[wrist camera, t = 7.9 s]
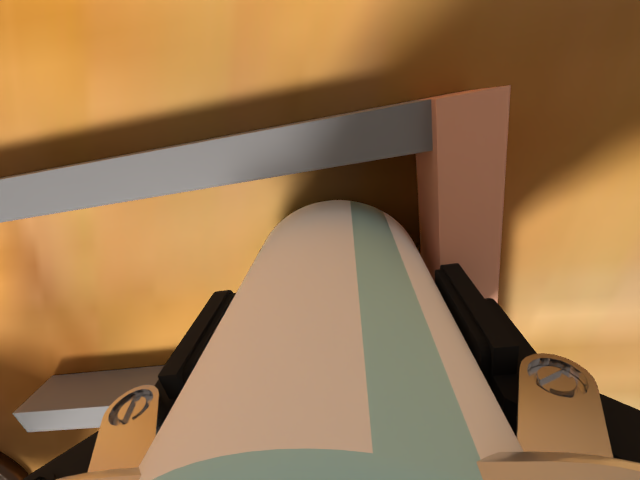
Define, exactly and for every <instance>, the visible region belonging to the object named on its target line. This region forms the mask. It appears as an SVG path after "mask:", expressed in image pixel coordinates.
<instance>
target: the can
mask: <svg viewBox="0 0 640 480" xmlns="http://www.w3.org/2000/svg"><path fill="white" fill-rule="evenodd" d="M498 452H524V451H523V449H522V447H521V446H520V444H519V442H518V440H517V438H516V436H515V434H514V432H513V430H512V428H511V427H510V425H509V423H508V421H507V419H506V417H505V415H504V413H503V411H502V409H501V408H500V406H499V404H498V402H497V400H496V398H495V396H494V394H493V392H492V390H491V388H490V387H489V385H488V383H487V381H486V379H485V377H484V375H483V373H482V371H481V369H480V368H479V366H478V364H477V362H476V360H475V358H474V356H473V354H472V352H471V350H470V349H469V347H468V345H467V343H466V341H465V339H464V337H463V335H462V333H461V331H460V330H459V328H458V326H457V324H456V322H455V320H454V318H453V316H452V314H451V312H450V310H449V309H448V307H447V305H446V303H445V301H444V299H443V297H442V295H441V293H440V291H439V290H438V288H437V286H436V284H435V282H434V280H433V278H432V276H431V274H430V272H429V271H428V269H427V267H426V265H425V263H424V261H423V259H422V257H421V255H420V253H419V251H418V250H417V248H416V246H415V244H414V242H413V240H412V238H411V237H410V235H409V234H408V233H407V231H406V230H405V229H404V228H403V227H402V226H401V225H400V224H399V223H398V222H397V221H396V220H395V219H394V218H392V217H391V216H390V215H388V214H386V213H385V212H383V211H381V210H379V209H377V208H375V207H373V206H370V205H367V204H364V203H360V202H355V201H347V200H330V201H322V202H318V203H314V204H311V205H307V206H305V207H303V208H300V209H298V210H296V211H295V212H293V213H291V214H290V215H288V216H287V217H285V218H284V219H283V220H282V221H281V222H280V223H279V224H278V225H277V226H276V227H275V228H274V229H273V230H272V232H271V233H270V234H269V236H268V238H267V239H266V241H265V243H264V245H263V246H262V248H261V250H260V252H259V253H258V255H257V257H256V259H255V261H254V262H253V264H252V266H251V268H250V269H249V271H248V273H247V275H246V277H245V278H244V280H243V282H242V284H241V285H240V287H239V289H238V291H237V293H236V294H235V296H234V298H233V300H232V301H231V303H230V305H229V307H228V309H227V310H226V312H225V314H224V316H223V318H222V319H221V321H220V323H219V325H218V326H217V328H216V330H215V332H214V334H213V335H212V337H211V339H210V341H209V342H208V344H207V346H206V348H205V350H204V351H203V353H202V355H201V357H200V358H199V360H198V362H197V364H196V366H195V367H194V369H193V371H192V373H191V375H190V376H189V378H188V380H187V382H186V383H185V385H184V387H183V389H182V391H181V392H180V394H179V396H178V398H177V399H176V401H175V403H174V405H173V407H172V408H171V410H170V412H169V414H168V415H167V417H166V419H165V421H164V423H163V424H162V426H161V428H160V430H159V432H158V433H157V435H156V437H155V439H154V440H153V442H152V444H151V446H150V448H149V449H148V451H147V453H146V455H145V456H144V458H143V460H142V462H141V464H140V465H139V469H140V473H141V477H140V479H139V480H483V478H482V476H481V473H480V470H479V468H478V465H477V461H479V460H481V459H483V458H485V457H487V456H489V455H492V454H496V453H498Z"/></svg>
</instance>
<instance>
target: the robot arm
mask: <svg viewBox="0 0 640 480" xmlns="http://www.w3.org/2000/svg"><path fill="white" fill-rule="evenodd" d="M435 284H436V286H437V288H438V290H439V291H440V293H441V295H442V297H443V299H444V301H445V303H446V305H447V307H448V309H449V310H450V312H451V314H452V316H453V318H454V320H455V322H456V324H457V326H458V328H459V330H460V331H461V333H462V335H463V337H464V339H465V341H466V343H467V345H468V347H469V349H470V350H471V352H472V354H473V356H474V358H475V360H476V362H477V364H478V366H479V368H480V369H481V371H482V373H483V375H484V377H485V379H486V381H487V383H488V385H489V387H490V388H491V390H492V392H493V394H494V396H495V398H496V400H497V402H498V404H499V406H500V408H501V409H502V411H503V413H504V415H505V417H506V419H507V421H508V423H509V425H510V427H511V428H512V430H513V432H514V434H515V436H516V438H517V440H518V442H519V444H520V446H521V447H522V449H523V451H524V452H498V453H496V454H492V455H489V456H487V457H485V458H483V459H481V460H479V461H477V465H478V468H479V470H480V473H481V476H482V478H483V480H640V410H638V409H635V408H633V407H630V406H628V405H626V404H623V403H621V402H619V401H616V400H614V399H612V398H609V397H607V396H604V395H602V394H600V393H599V390H598V386H597V384H596V381H595V379H594V378H593V377H592V375H591V374H590V373H589V372H588V371H587V370H586V369H584V368H583V367H581V366H580V365H579V364H577V363H575V362H573V361H571V360H569V359H567V358H564V357H561V356H557V355H553V354H545V353H541V354H537V353H536V352H535V351H534V349H533V348H532V347H531V345H530V344H529V343H528V342H527V340H526V339H525V338H524V337H523V335H522V334H521V333H520V331H519V330H518V329H517V328H516V326H515V325H514V324H513V322H512V321H511V320H510V319H509V317H508V316H507V315H506V314H505V312H504V311H503V310H502V308H501V307H500V306H499V305H498V303H497V302H496V301H495V300H494V299H493V298H484V297H483V296H482V294H481V293H480V292H479V290H478V289H477V288H476V286H475V285H474V284H473V282H472V281H471V279H470V278H469V277H468V275H467V274H466V273H465V271H464V270H463V269H462V267H461V266H460V265H459V264H458V263H453V264H445V265H441V266H440V269H438V270H435ZM235 294H236V293H233V292H232V291H231V290H226V291H217V292H214V293H213V295H212V296H211V298H210V299H209V301H208V302H207V304H206V305H205V307H204V308H203V310H202V311H201V313H200V314H199V316H198V317H197V318H196V320H195V321H194V323H193V324H192V326H191V327H190V329H189V330H188V332H187V333H186V335H185V336H184V338H183V339H182V340H181V342H180V343H179V345H178V346H177V348H176V349H175V351H174V352H173V354H172V355H171V357H170V358H169V360H168V361H167V363H166V364H165V365H164V367H163V368H162V370H161V371H160V373H159V374H158V378H159V379H158V381H157V382H156V384H155V385H154V386H153V385H142V386H139V387H135V388H133V389H131V390H129V391H127V392H126V393H124V394H123V395H121V396H120V397H118V398H117V399H116V400H115V401H114V402H113V403H112V404H111V405H110V406H109V408H108V409H107V410H106V412H105V414H104V416H103V418H102V421H101V425H100V428H99V431H98V432H96V433H94V434H93V435H91V436H90V437H88V438H87V439H85V440H83V441H82V442H80V443H79V444H77V445H76V446H74V447H72V448H71V449H69V450H68V451H66V452H64V453H63V454H61V455H60V456H58V457H57V458H55V459H53V460H52V461H50V462H49V463H47V464H46V465H44V466H42V467H41V468H39V469H38V470H36V471H35V472H33V473H31V474H30V475H28V476H27V477H26V478H24V479H23V480H139V479H140V477H141V473H140V469H139V465H140V464H141V462H142V460H143V458H144V456H145V455H146V453H147V451H148V449H149V448H150V446H151V444H152V442H153V440H154V439H155V437H156V435H157V433H158V432H159V430H160V428H161V426H162V424H163V423H164V421H165V419H166V417H167V415H168V414H169V412H170V410H171V408H172V407H173V405H174V403H175V401H176V399H177V398H178V396H179V394H180V392H181V391H182V389H183V387H184V385H185V383H186V382H187V380H188V378H189V376H190V375H191V373H192V371H193V369H194V367H195V366H196V364H197V362H198V360H199V358H200V357H201V355H202V353H203V351H204V350H205V348H206V346H207V344H208V342H209V341H210V339H211V337H212V335H213V334H214V332H215V330H216V328H217V326H218V325H219V323H220V321H221V319H222V318H223V316H224V314H225V312H226V310H227V309H228V307H229V305H230V303H231V301H232V300H233V298H234V296H235Z"/></svg>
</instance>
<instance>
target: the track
mask: <svg viewBox="0 0 640 480" xmlns="http://www.w3.org/2000/svg"><path fill="white" fill-rule="evenodd" d="M510 91H511V85H507V86H499V87H491V88H482V89H474V90H467V91H461V92H456V93H451V94H445V95H440V96H435V97H429V98H424V99H419V100H413V101H408V102H403V103H397V104H392V105H387V106H381V107H376V108H371V109H365V110H360V111H355V112H349V113H344V114H339V115H333V116H328V117H323V118H317V119H312V120H306V121H301V122H296V123H290V124H285V125H280V126H274V127H269V128H264V129H258V130H253V131H248V132H242V133H237V134H232V135H226V136H221V137H216V138H210V139H205V140H200V141H194V142H189V143H184V144H178V145H173V146H168V147H162V148H157V149H152V150H146V151H141V152H135V153H130V154H125V155H119V156H114V157H109V158H103V159H98V160H93V161H87V162H82V163H77V164H71V165H66V166H61V167H55V168H50V169H45V170H39V171H34V172H29V173H23V174H18V175H13V176H7V177H2V178H0V222H6V221H12V220H18V219H24V218H30V217H36V216H42V215H48V214H54V213H60V212H66V211H72V210H78V209H84V208H90V207H96V206H102V205H108V204H115V203H121V202H127V201H133V200H139V199H145V198H151V197H157V196H163V195H169V194H175V193H181V192H187V191H193V190H199V189H205V188H211V187H217V186H223V185H229V184H235V183H241V182H247V181H253V180H259V179H265V178H271V177H277V176H283V175H289V174H295V173H301V172H307V171H313V170H319V169H325V168H331V167H337V166H343V165H349V164H355V163H361V162H367V161H373V160H379V159H385V158H391V157H397V156H403V155H409V154H415V153H416V169H417V189H418V208H419V227H420V247H421V257H422V259H423V261H424V263H425V265H426V267H427V269H428V271H429V272H430V274H431V276H432V278H433V280H434V282H435V270H438V269H440V266H441V265H445V264H453V263H458V264H459V265H460V266H461V267H462V269H463V270H464V271H465V273H466V274H467V275H468V277H469V278H470V279H471V281H472V282H473V284H474V285H475V286H476V288H477V289H478V290H479V292H480V293H481V294H482V296H483V297H484V298H493V299H494V300H495V301H496V302H497V303H498V288H499V272H500V255H501V239H502V223H503V206H504V190H505V173H506V157H507V140H508V124H509V107H510ZM163 367H164V365H162V366H151V367H140V368H129V369H118V370H107V371H97V372H86V373H75V374H64V375H53V376H52V377H50V378H49V379H48V380H47V381H46V382H45V383H44V384H43V385H42V386H41V387H40V388H39V389H38V390H37V391H36V392H35V393H33V394H32V395H31V396H30V397H29V398H28V399H27V400H26V401H25V402H24V403H23V404H22V405H21V406H20V407H19V408H17V409H16V410H15V411H14V412H13V413H12V414H13V415H14V416H15V417H16V419H17V420H18V421H19V422H20V424H21V425H22V426H23V427H24V429H25V430H26V431H27V432H38V431H53V430H68V429H83V428H98V427H100V425H101V421H102V418H103V416H104V414H105V412H106V410H107V409H108V408H109V406H110V405H111V404H112V403H113V402H114V401H115V400H116V399H117V398H118V397H120V396H121V395H123V394H124V393H126V392H127V391H129V390H131V389H133V388H135V387H139V386H142V385H153V386H154V385H155V384H156V382H157V381H158V379H159V378H158V374H159V373H160V371H161V370H162V368H163Z"/></svg>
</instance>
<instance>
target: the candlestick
mask: <svg viewBox="0 0 640 480" xmlns="http://www.w3.org/2000/svg"><path fill="white" fill-rule="evenodd" d="M27 476H28V473H27V472H26V471H25V470H24V469H23V468H22V467H21V466H20V465H19V464H17V463H16V462H15V461H13V460H12V459H11V458H9V457H8V456H6V455H4V454H3V453H1V452H0V480H23V479H24V478H26V477H27Z"/></svg>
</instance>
